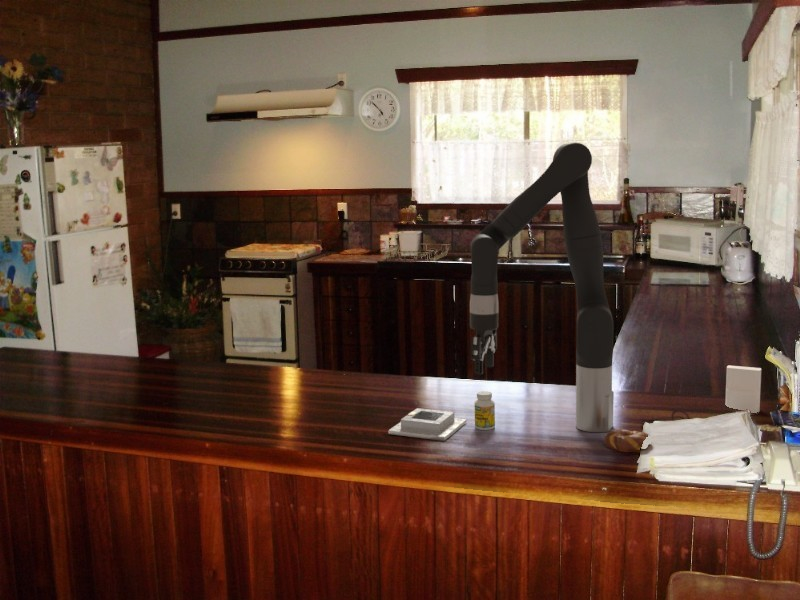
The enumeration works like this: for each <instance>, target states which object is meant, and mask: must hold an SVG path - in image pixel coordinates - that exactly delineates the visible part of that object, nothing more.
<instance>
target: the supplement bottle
mask: <svg viewBox="0 0 800 600" xmlns="http://www.w3.org/2000/svg"><path fill="white" fill-rule="evenodd" d="M492 394H493V393H492V391H488V390H487V391H485V390H483V391H481V390H479V391H477V392H476V400H475V401H474V427H475V429H477V430H479V431H490V430H493V429H495V427H496V414H495V412H496V410H495V409H496V408H495V407H496V405H495V403H496V402H495V401H494V400H493V395H492Z"/></svg>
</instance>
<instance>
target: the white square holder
mask: <svg viewBox="0 0 800 600" xmlns="http://www.w3.org/2000/svg"><path fill="white" fill-rule="evenodd" d="M466 424H467V419H466V418H457V417H455V411H446V410H439V409H438V410H437V409H428V408H427V409H426V408H420V407H417V408H415V409H414V410H412V411H410V412H409V413H407V415H405V416H404V417H402V418H401V419H400V422H398V423H397V424H395V425H394V426H392V427H391V428H390V429H389V430H388V435H393V436H394V435H395V436H402V437H403V436H404V437H409V438H418V439H419V438H420V439H428V440H433V441H434V440H435V441H442V442H443V441H444V442H445V441H447V440H448V439H449V438H450V437H452V435H453V434H455V433H456V432H457V431H458V430H460V429H461V428H462V427H464V425H466Z"/></svg>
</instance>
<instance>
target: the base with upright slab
mask: <svg viewBox="0 0 800 600" xmlns="http://www.w3.org/2000/svg"><path fill="white" fill-rule="evenodd" d="M725 380H726V381H725V384H726V385H725V405H726V406H727V407H729V408H733V409H738V410H746V409H748V410H750V411H751V413H756V414H758V413H759V412H760V410H761V409H760V405H761V403H760V402H761V386H762V385H761V384H762V368H761V367H753V366H751V367H750V366H743V365H742V366H740V365H729V364H728V365H727V366H726V379H725ZM725 405H724V406H725ZM757 412H758V413H757Z"/></svg>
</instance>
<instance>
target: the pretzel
mask: <svg viewBox="0 0 800 600" xmlns="http://www.w3.org/2000/svg"><path fill="white" fill-rule="evenodd" d="M648 435H649V433H646V432H643V431H638V430H633V431H631V430H628V429H623V428H622V429H613V430H610V431H609V432H607V433H606V434H605V435H604V436H603V444H604V445H605V447H606V448H608V449H612V450H616V451H617V450H618V451H619V452H621V453H632V452H636V451H638V450H639V451H641V450H640V448H641V447H642V444H643V441H644V440H645V439H646V437H648Z"/></svg>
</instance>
